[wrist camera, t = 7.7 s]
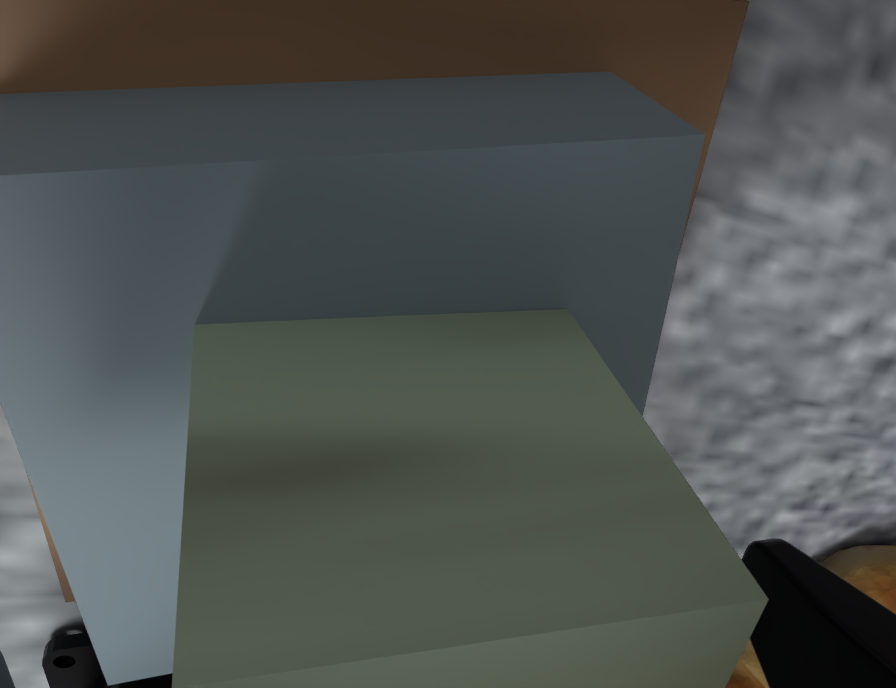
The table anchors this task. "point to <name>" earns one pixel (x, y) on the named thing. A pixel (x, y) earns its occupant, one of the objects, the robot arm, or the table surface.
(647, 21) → the walnut base slab
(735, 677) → the pastry
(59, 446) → the slate top slab
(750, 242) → the table surface
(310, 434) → the sage block
